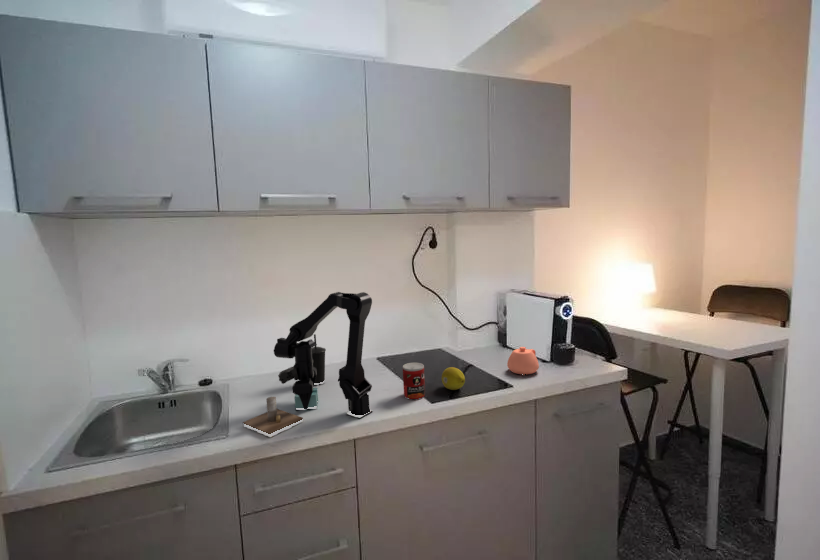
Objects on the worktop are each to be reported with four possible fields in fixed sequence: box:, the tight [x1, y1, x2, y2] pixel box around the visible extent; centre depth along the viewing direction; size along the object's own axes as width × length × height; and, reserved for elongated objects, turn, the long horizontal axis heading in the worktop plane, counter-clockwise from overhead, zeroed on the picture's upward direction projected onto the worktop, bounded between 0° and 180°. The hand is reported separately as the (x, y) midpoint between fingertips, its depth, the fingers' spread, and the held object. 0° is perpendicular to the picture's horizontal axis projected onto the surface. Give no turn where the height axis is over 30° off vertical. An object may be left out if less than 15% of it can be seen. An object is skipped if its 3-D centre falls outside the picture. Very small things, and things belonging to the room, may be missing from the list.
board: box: [242, 396, 304, 434], centre depth 127 cm, size 14×12×8 cm
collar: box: [294, 387, 319, 408], centre depth 140 cm, size 7×7×5 cm
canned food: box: [402, 362, 426, 400], centre depth 144 cm, size 8×8×11 cm
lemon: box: [440, 366, 466, 391], centre depth 149 cm, size 11×8×8 cm
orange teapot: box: [506, 346, 540, 376], centre depth 164 cm, size 12×14×10 cm
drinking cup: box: [312, 333, 326, 383], centre depth 161 cm, size 8×8×20 cm
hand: (307, 403), depth 140 cm, fingers open, 9 cm apart
